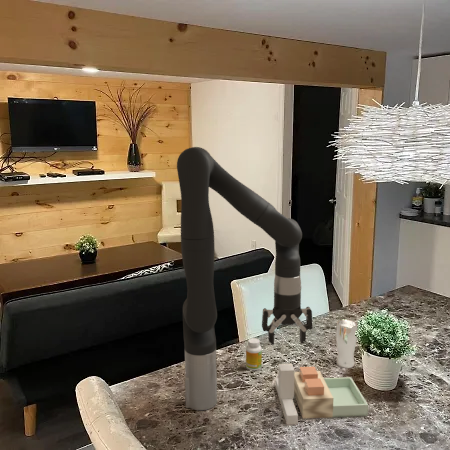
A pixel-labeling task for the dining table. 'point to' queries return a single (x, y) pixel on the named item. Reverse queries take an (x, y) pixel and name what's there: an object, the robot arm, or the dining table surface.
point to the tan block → (313, 399)
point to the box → (346, 398)
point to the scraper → (286, 392)
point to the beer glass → (346, 342)
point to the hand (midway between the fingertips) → (286, 343)
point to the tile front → (314, 387)
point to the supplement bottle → (253, 354)
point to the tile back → (308, 373)
